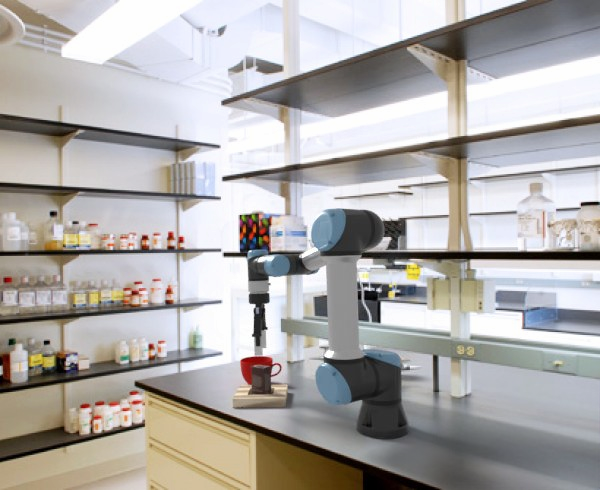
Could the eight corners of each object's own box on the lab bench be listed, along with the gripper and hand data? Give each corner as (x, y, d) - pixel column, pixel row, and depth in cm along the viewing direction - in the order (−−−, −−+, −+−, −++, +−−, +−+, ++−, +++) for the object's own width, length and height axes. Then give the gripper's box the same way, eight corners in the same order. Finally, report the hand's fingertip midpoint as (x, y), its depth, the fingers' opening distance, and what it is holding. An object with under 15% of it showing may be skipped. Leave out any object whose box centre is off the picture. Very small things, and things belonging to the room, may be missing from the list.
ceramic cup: (276, 390, 189) (276, 364, 189) (235, 388, 193) (235, 362, 193) (286, 381, 201) (286, 356, 201) (247, 379, 206) (247, 355, 206)
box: (272, 399, 178) (271, 365, 178) (264, 402, 174) (263, 368, 174) (259, 396, 181) (258, 363, 181) (251, 400, 177) (250, 366, 177)
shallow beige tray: (285, 406, 168) (284, 398, 169) (232, 407, 169) (232, 398, 169) (287, 392, 186) (287, 384, 186) (240, 393, 186) (239, 385, 186)
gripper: (266, 295, 165) (267, 358, 165) (272, 289, 190) (273, 344, 190) (243, 295, 165) (245, 359, 165) (252, 290, 190) (254, 345, 190)
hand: (260, 351), depth 177 cm, fingers open, 13 cm apart
